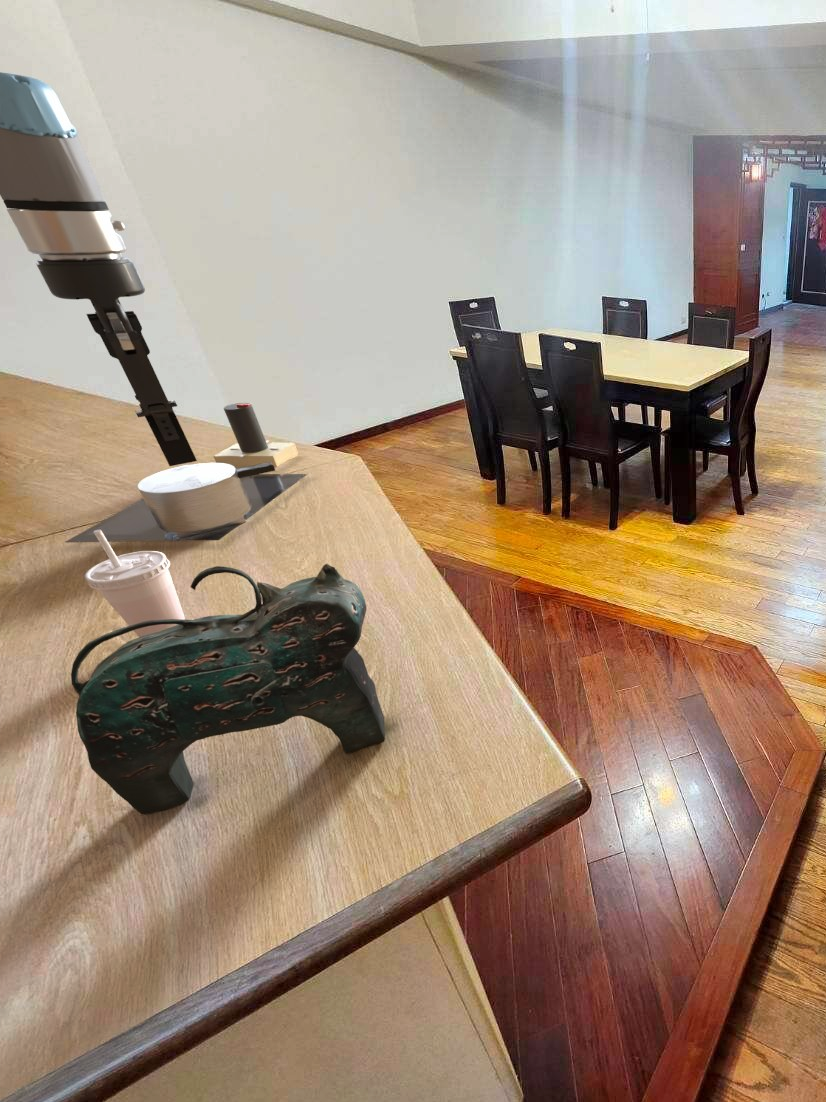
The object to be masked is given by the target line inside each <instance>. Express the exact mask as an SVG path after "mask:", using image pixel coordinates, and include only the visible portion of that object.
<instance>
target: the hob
mask: <svg viewBox="0 0 826 1102" xmlns="http://www.w3.org/2000/svg"><path fill="white" fill-rule="evenodd" d="M306 476H308V473H262V474H257V475H252V476H247V477H243V478H240V480H241V482H242V485H243V487H244V489H245V492H246V494H247V496H248V499H249V501H250V503H251V510H250V511H249V512H248V513H247V514H245V515H244V518H245V520H246V521H247V520H248V519H249V518H251V517H252V516H254V515H255V514H256V513H258V512H259V511H260V510H261V509H263V508H264V507H265V506H267V505H268V504H269V503H271V502H272V501H273V500H275V499H276V498H277V497H279V496H281V495H282V494H283V493H284V492H286V491H287V490H288V489H290V488H291V487H292V486H294V485H295V484H297V483H298V482H299V481H301V480H302V479H303V478H304V477H306ZM241 524H242V523H240V524H236V525H232V526H228V527H224V528H220V529H216V530H212V531H208V532H204V533H200V534H196V535H192V536H188V537H184V538H179V537H178V535H177V533H176V532H168V531H164V530H162V529H160V528H159V527H158V525H157V523H156V521H155V519H154V518H153V516H152V514H151V512H150V510H149V508H148V506H147V504H146V503H145V501H144V499H143V498H141V499H139V500H137V501H136V502H134V503H132V504H130V505H129V506H126V507H125V508H123V509H121V510H119V511H118V512H116V513H114V514H113V515H110V516H109V517H107V518H105V519H103V520H101V521H99V522H98V523H95V524H94V525H93V526H91V527H89V528H87V529H85V530H84V531H82V532H80V533H78V534H77V535H75V536H73V537H70V538H69V539H67V540H65V543H100V542H99V540H98V539H97V537H96V535H95V534H94V531H95V530H101V531H102V533H103V534H104V536H105V538H106V539H107V541H108V543H113V542H117V543H118V542H120V543H121V542H175V541H176V542H180V541H183V542H184V541H186V542H187V541H220V540H221V539H223V538H224V537H225V536H226V535H228V534H229V533H231V532H232V531H233V530H235V529H236V528H237V527H239V526H240V525H241Z"/></svg>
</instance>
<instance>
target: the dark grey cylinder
mask: <svg viewBox="0 0 826 1102" xmlns="http://www.w3.org/2000/svg"><path fill="white" fill-rule="evenodd" d="M223 411H224V413H225V415H226V418H227V420H228V423H229V426H230V427H231V430H232V432H233V435H234V437H235V439H236V443H238V444H239V447H240V449H241V451H242V452H246V453H251V452H258V451H262V450H265V449H267V448H268V445H267V443H268V442H267V443H266V441H267V440H266V437H265V435H264V432H263V430H262V429H261V425H260V422H259V420H258V418H257V415H256V412H255V410H254V407H253V405H252V403H249V402H237V403H231V404H228V405H225V406H223Z"/></svg>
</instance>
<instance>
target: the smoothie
mask: <svg viewBox="0 0 826 1102" xmlns="http://www.w3.org/2000/svg"><path fill="white" fill-rule="evenodd" d="M94 534H95V535H96V537H97V539H98V540H99V542H98V543H99V544H100V546H101V548H102V549H103V550H104V552H105V554H106V555H107V557H108V558H107V559H106V560H103V561H101V562H99V563H97V564H96V565H94V566H92V567H90V569H88V570H87V571H86V573H85V574H84V579H85V581H86V582H87V585H88V587H89V588H91V589H92V590H96V591H98V592H99V593H100V595H101V596H102V597H103V598H104V600H106V601H107V603H108V604H110V606H111V607H112V608H113V609H114V611H115V612H116V613H117V614H118V615H119V616H120V617H121V618H122V619H123V620H124V621H125V623H126V624H127V625H128V626H131V625H135V624H138V623H141V622H145V621H150V620H166V619H183V620H186V617H185V614H184V611H183V607H182V605H181V602H180V599H179V596H178V594H177V590H176V588H175V585H174V582H173V579H172V576H171V573H170V570H169V568H170V566H171V562H170V560H169V559H168V558H167V556H166V554H165V553H164V552H161V551H156V550H142V551H135V552H129V553H124V554H121V555H116V553H115V551H114V550H113V548H112V546H111V544H110V542H108V541H107V539H106V538H105V536H104V534H103V533H102V531H101V530H95V531H94ZM176 625H178V624H161V625H153V626H147V627H143V628H139V629H136V630H133V631H132V632H134V633H135V634H136V635H137V637H138V638H139V637H142V636H145V635H149V634H152V633H156V632H160V631H162V630H165V629H168V628H170V627H173V626H176Z"/></svg>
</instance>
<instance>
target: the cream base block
mask: <svg viewBox="0 0 826 1102" xmlns="http://www.w3.org/2000/svg"><path fill="white" fill-rule="evenodd" d="M266 443H267V445H268V448H267V449H265V450H262V451H258V452H251V453H246V452H242V451H241V449H240V447H239V444H238V442H236V443H235V444H233V445H231V446H229V447H227V448H225V449H223V450H222V451H220V452H218V453H216V454H215V455H213V460H214V461H215V463H225V464H230V465H232V466H234V467H235V468H236V469H239V468H244V467H249V466H254V465H258V464H263V463H268V462H271V463H272V464H273V466H274V468H276V467H279V466H280V465H282V464H283V463H285V462H287V461H288V460H292V459H295V458H296V457H298V456H299V452H298V449H297V447H296V443H295V442H270V440H266Z"/></svg>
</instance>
